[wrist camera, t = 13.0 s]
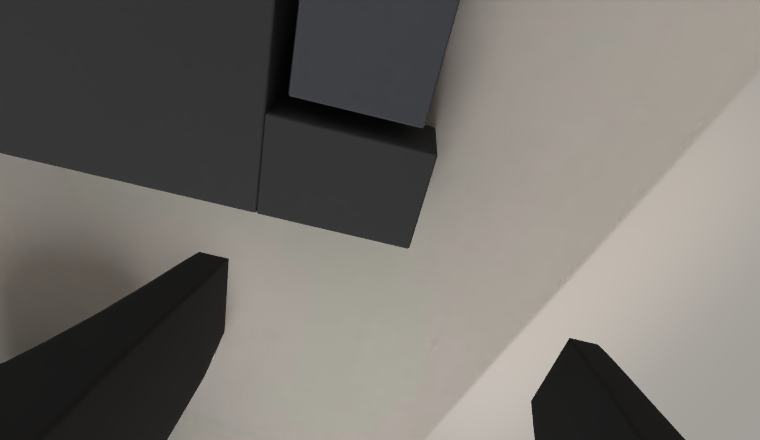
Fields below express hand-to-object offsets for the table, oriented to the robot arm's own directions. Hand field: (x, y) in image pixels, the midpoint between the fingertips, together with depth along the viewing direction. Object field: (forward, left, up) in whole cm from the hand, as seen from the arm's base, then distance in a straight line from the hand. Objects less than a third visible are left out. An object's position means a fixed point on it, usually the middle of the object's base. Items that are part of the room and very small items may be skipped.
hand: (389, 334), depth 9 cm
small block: (+4, -3, -10) cm, 12 cm away
